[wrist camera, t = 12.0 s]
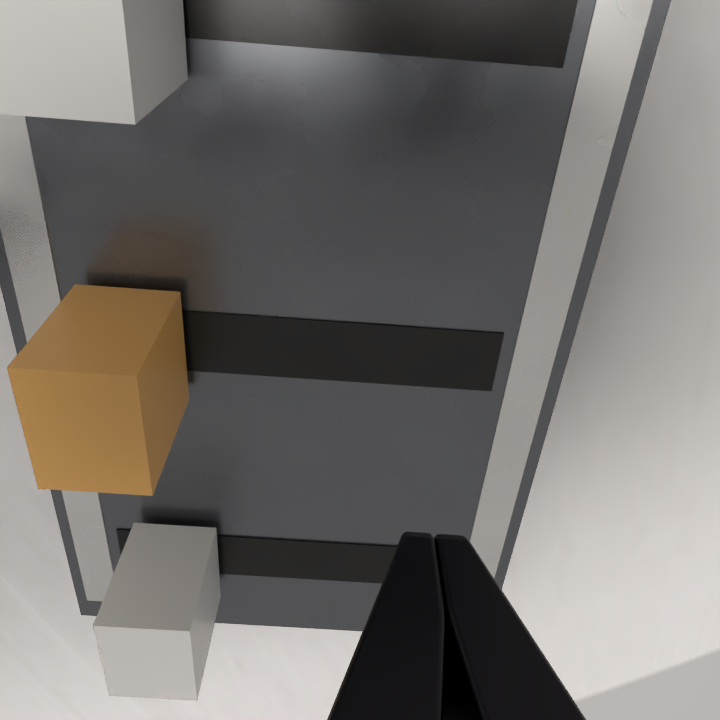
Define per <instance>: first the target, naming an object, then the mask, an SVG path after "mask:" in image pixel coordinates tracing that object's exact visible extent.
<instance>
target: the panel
mask: <svg viewBox="0 0 720 720" xmlns="http://www.w3.org/2000/svg"><path fill="white" fill-rule="evenodd" d="M670 2H671V0H183V11H184V27H185V43H186V58H187V74H188V80H187V81H185V82H184V83H183V84H182V85H181V86H180V87H178V88H177V89H176V90H175V91H174V92H173V93H171V94H170V95H169V96H168V97H167V98H166V99H165V100H163V101H162V102H161V103H160V104H159V105H158V106H156V107H155V108H154V109H153V110H152V111H151V112H149V113H148V114H147V115H146V116H145V117H144V118H142V119H141V120H140V121H139V122H138V123H137V124H136V125H134V124H121V123H108V122H95V121H82V120H69V119H56V118H44V117H31V116H18V115H5V114H0V286H1V290H2V294H3V298H4V302H5V306H6V310H7V314H8V318H9V322H10V326H11V330H12V335H13V339H14V343H15V347H16V351H17V355H18V353H19V352H20V351H21V350H22V349H23V347H24V346H25V345H26V344H27V342H28V341H29V340H30V339H31V338H32V336H33V335H34V334H35V333H36V331H37V330H38V329H39V328H40V327H41V325H42V324H43V323H44V322H45V320H46V319H47V318H48V317H49V316H50V314H51V313H52V312H53V311H54V309H55V308H56V307H57V306H58V304H59V303H60V302H61V301H62V300H63V298H64V297H65V296H66V295H67V293H68V292H69V291H70V290H71V289H72V287H73V286H74V285H75V284H78V285H92V286H106V287H120V288H135V289H149V290H163V291H177V292H180V293H181V305H182V317H183V329H184V341H185V354H186V366H187V378H188V390H189V402H188V404H187V407H186V410H185V412H184V415H183V417H182V420H181V423H180V425H179V428H178V431H177V433H176V436H175V438H174V441H173V444H172V446H171V449H170V452H169V454H168V457H167V459H166V462H165V465H164V467H163V470H162V473H161V475H160V478H159V480H158V483H157V486H156V488H155V491H154V493H153V496H146V495H130V494H114V493H98V492H83V491H67V490H51V489H50V490H51V494H52V498H53V502H54V506H55V510H56V514H57V518H58V522H59V526H60V530H61V535H62V539H63V543H64V547H65V551H66V555H67V559H68V563H69V567H70V571H71V575H72V579H73V584H74V588H75V592H76V596H77V600H78V604H79V608H80V612H81V615H91V616H97V614H98V612H99V609H100V607H101V604H102V602H103V599H104V597H105V594H106V592H107V589H108V586H109V584H110V581H111V579H112V576H113V574H114V571H115V569H116V566H117V564H118V561H119V559H120V556H121V554H122V551H123V549H124V546H125V544H126V541H127V538H128V536H129V533H130V531H131V528H132V526H133V523H147V524H163V525H179V526H195V527H212V528H216V530H217V546H218V562H219V577H220V593H221V597H220V601H219V605H218V610H217V614H216V619H215V623H229V624H247V625H264V626H281V627H299V628H316V629H333V630H351V631H363V630H364V627H365V625H366V622H367V620H368V617H369V615H370V612H371V610H372V607H373V605H374V602H375V600H376V597H377V595H378V592H379V590H380V587H381V585H382V582H383V580H384V577H385V575H386V572H387V570H388V568H389V565H390V563H391V560H392V558H393V555H394V553H395V550H396V548H397V545H398V543H399V540H400V538H401V536H402V534H403V533H404V532H406V531H410V532H423V533H431V534H432V535H433V536H434V537H435V536H436V535H438V534H450V535H462V536H465V537H466V538H467V539H468V540H469V541H470V542H471V544H472V546H473V547H474V549H475V550H476V552H477V553H478V555H479V556H480V558H481V559H482V561H483V562H484V564H485V565H486V567H487V569H488V570H489V572H490V573H491V575H492V576H493V578H494V579H495V581H496V582H497V584H498V585H499V587H500V588H501V590H502V586H503V583H504V579H505V576H506V572H507V569H508V565H509V562H510V558H511V555H512V551H513V548H514V544H515V541H516V537H517V534H518V530H519V527H520V523H521V520H522V517H523V513H524V510H525V506H526V503H527V499H528V496H529V492H530V489H531V485H532V482H533V478H534V475H535V471H536V468H537V464H538V461H539V457H540V454H541V450H542V447H543V443H544V440H545V437H546V433H547V430H548V426H549V423H550V419H551V416H552V412H553V409H554V405H555V402H556V398H557V395H558V391H559V388H560V384H561V381H562V377H563V374H564V370H565V367H566V363H567V360H568V357H569V353H570V350H571V346H572V343H573V339H574V336H575V332H576V329H577V325H578V322H579V318H580V315H581V311H582V308H583V304H584V301H585V297H586V294H587V290H588V287H589V283H590V280H591V277H592V273H593V270H594V266H595V263H596V259H597V256H598V252H599V249H600V245H601V242H602V238H603V235H604V231H605V228H606V224H607V221H608V217H609V214H610V210H611V207H612V203H613V200H614V197H615V193H616V190H617V186H618V183H619V179H620V176H621V172H622V169H623V165H624V162H625V158H626V155H627V151H628V148H629V144H630V141H631V137H632V134H633V130H634V127H635V123H636V120H637V117H638V113H639V110H640V106H641V103H642V99H643V96H644V92H645V89H646V85H647V82H648V78H649V75H650V71H651V68H652V64H653V61H654V57H655V54H656V50H657V47H658V43H659V40H660V37H661V33H662V30H663V26H664V23H665V19H666V16H667V12H668V9H669V5H670Z"/></svg>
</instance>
